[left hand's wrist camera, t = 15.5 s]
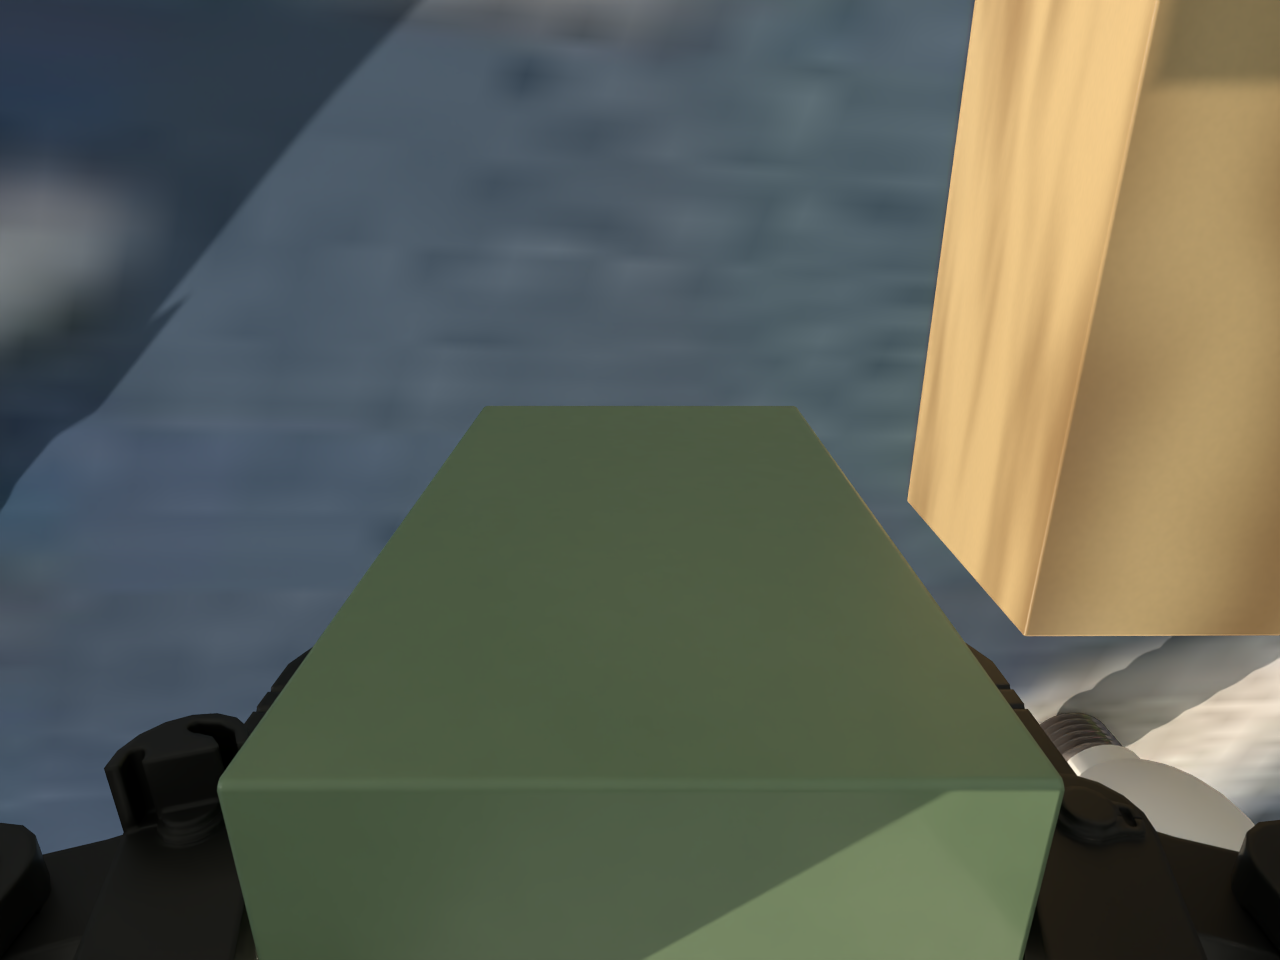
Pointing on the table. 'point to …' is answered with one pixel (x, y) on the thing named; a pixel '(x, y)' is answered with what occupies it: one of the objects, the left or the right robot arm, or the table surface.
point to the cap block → (640, 721)
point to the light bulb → (1149, 784)
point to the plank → (1112, 319)
